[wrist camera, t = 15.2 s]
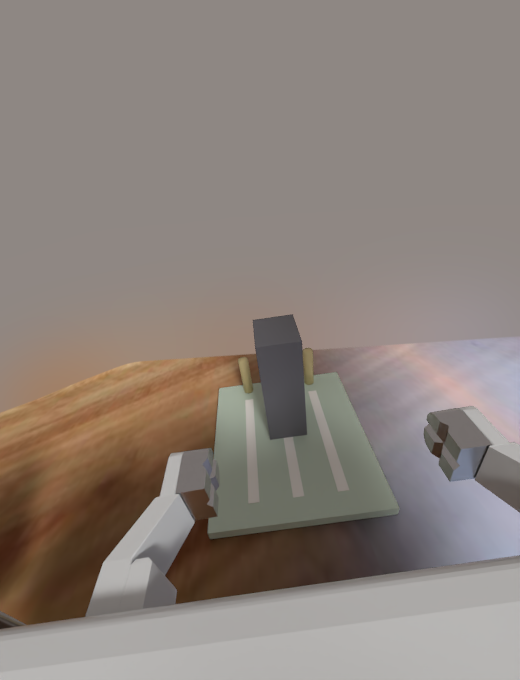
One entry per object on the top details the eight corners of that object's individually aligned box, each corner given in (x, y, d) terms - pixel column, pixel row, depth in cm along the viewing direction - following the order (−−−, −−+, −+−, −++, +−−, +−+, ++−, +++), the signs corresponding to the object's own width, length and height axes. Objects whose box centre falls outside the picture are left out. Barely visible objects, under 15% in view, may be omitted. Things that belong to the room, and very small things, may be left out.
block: (298, 400, 36) (292, 313, 29) (307, 434, 31) (301, 341, 25) (266, 404, 36) (252, 318, 29) (270, 439, 31) (255, 347, 25)
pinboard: (336, 377, 40) (337, 341, 36) (397, 514, 24) (408, 471, 21) (220, 393, 40) (211, 358, 37) (210, 539, 25) (192, 500, 21)
